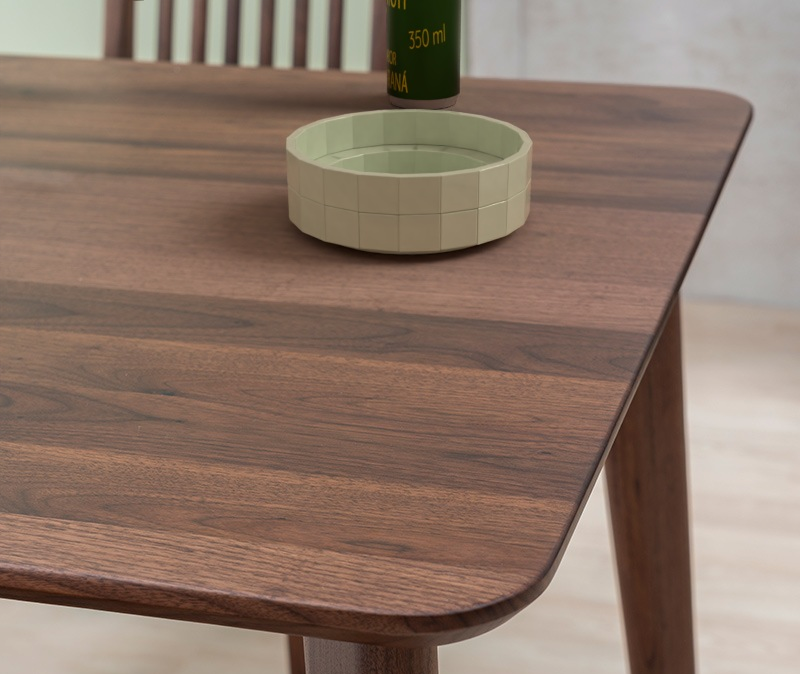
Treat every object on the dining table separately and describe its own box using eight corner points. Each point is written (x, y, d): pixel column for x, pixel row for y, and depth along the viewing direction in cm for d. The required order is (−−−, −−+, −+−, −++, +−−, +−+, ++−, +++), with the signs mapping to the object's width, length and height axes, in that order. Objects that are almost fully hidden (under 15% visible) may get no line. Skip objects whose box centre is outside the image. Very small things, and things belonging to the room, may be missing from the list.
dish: (256, 252, 65) (251, 166, 63) (328, 178, 76) (326, 103, 74) (507, 272, 62) (510, 184, 60) (543, 192, 73) (546, 115, 71)
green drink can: (439, 89, 96) (440, -78, 90) (472, 105, 91) (476, -70, 86) (374, 97, 93) (372, -74, 88) (406, 114, 89) (405, -65, 84)
